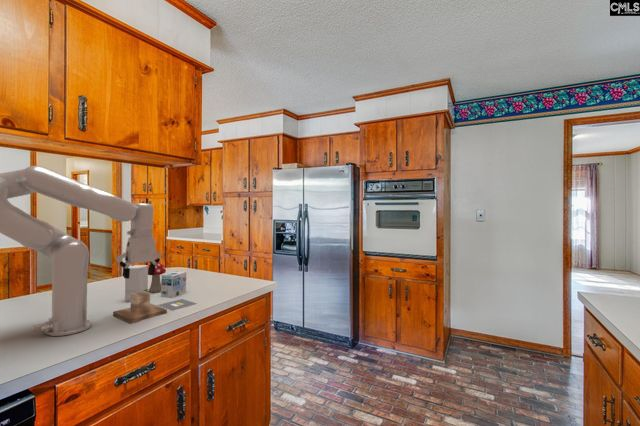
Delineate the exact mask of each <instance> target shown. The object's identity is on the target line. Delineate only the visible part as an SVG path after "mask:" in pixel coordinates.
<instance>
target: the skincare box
mask: <svg viewBox="0 0 640 426" xmlns="http://www.w3.org/2000/svg"><path fill="white" fill-rule="evenodd" d="M128 268H129V269H130V275H129V279H126V278H124V281H125V282H124V283H125V284H124V285H125V286H124V302H126V303H128V302H129V303H131V294H132V293H137V292H141V291H145V292H148V287H149V285H148V283H149V282H148V280H149V279H148V277H149V275H148V268H149V265H148V264H147V265H145V264H136V265H130V266H129V267H128ZM148 293H149V292H148Z"/></svg>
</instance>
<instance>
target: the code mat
mask: <svg viewBox="0 0 640 426" xmlns="http://www.w3.org/2000/svg"><path fill="white" fill-rule="evenodd" d="M194 305H198V303H196V302H194V301H190V300H186V299H184V298H180V299H176V300H172V301H168V302H165V303H160V304H157V306H158V307H161V308H164V309H167V310H169V311H173V312H174V311H176V310H181V309H183V308H184V309H185V308H188V307H191V306H194Z"/></svg>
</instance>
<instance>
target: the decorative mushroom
mask: <svg viewBox="0 0 640 426" xmlns="http://www.w3.org/2000/svg"><path fill="white" fill-rule="evenodd" d="M166 270H167V269H166V268H165V266H164V264H163V263H162V262H160V261H159V262H158V263H157V265H155V273H154V275H151V283H150V287H149V293H150V294H152V293H153V294H155V293H161V276H162V275H164V274H166V273H167V272H166ZM148 276H150V275H149V267H148Z"/></svg>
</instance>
